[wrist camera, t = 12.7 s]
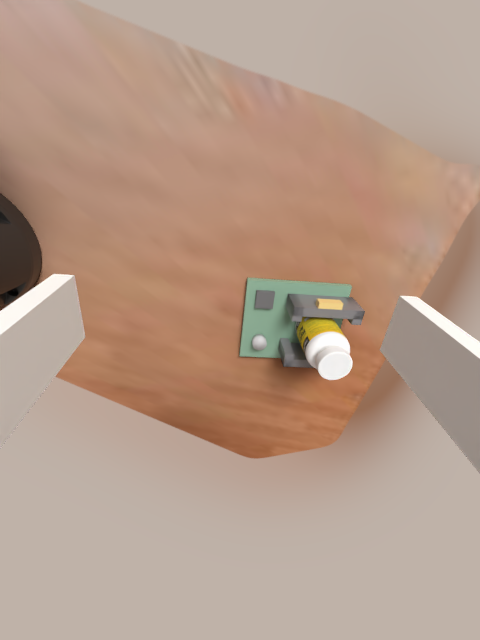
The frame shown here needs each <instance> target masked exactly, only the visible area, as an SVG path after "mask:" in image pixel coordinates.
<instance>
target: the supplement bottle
mask: <svg viewBox="0 0 480 640" xmlns="http://www.w3.org/2000/svg"><path fill="white" fill-rule="evenodd" d="M295 330H296V334H297V336H298V339H299V341H300V344H301V346H302V349H303V351H304V354H305V356H306V359H307V361H308V362H309V364H310V365H311V366H312V367H314V368H316V369H317V370H318V372H319V374H320V375H321V376H322V377H323V378H325V379H328V380H337V379H340V378H342V377H344V376H346V375H347V374H348V373H349V372H350V370H351V368H352V359H351V357H350V355H349V353H350V345H349V343H348V341H347V339H346V337H345V336H344V334H343V333H342V331H341V330H340V328H339V327H338V325H337V324H336V322H335V320H334V319H333V318H322V317H304V316H302V321H301V322H296V325H295Z"/></svg>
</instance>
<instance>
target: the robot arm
mask: <svg viewBox="0 0 480 640" xmlns="http://www.w3.org/2000/svg"><path fill="white" fill-rule="evenodd" d="M40 271H41V251H40V247H39V243H38V240H37V238H36V235H35V233H34V231H33V229H32V227H31V226H30V224H29V223H28V221H27V220H26V218H25V217H24V216H23V214H22V213H21V212H20V211H19V210H18V209H17V208H16V207H15V206H14V205H13V204H12V203H11V202H10V201H9V200H8V199H7V198H5V197H4V196H3V195H2V194H0V307H2V306H5V305H7V304H10V303H11V304H10V305H8V306H7V307H6V308H4V309H3V310H1V311H0V448H1V447H2V446H3V444H4V443H5V442H6V440H7V439H8V438H9V436H10V435H11V434H12V433H13V431H14V430H15V429H16V427H17V426H18V425H19V423H20V422H21V421H22V419H23V418H24V417H25V415H26V414H27V413H28V411H29V410H30V409H31V408H32V406H33V405H34V404H35V402H36V401H37V399H38V398H39V397H40V396H41V394H42V393H43V392H44V390H45V389H46V388H47V386H48V385H49V384H50V383H51V381H52V380H53V379H54V377H55V376H56V375H57V373H58V372H59V371H60V369H61V368H62V367H63V365H64V364H65V363H66V361H67V360H68V359H69V358H70V356H71V355H72V354H73V352H74V351H75V350H76V348H77V347H78V346H79V344H80V343H81V342H82V340H83V339H84V338H85V332H84V327H83V321H82V315H81V309H80V304H79V298H78V292H77V287H76V281H75V275H62V274H53V275H51V276H50V277H49V278H47V279H46V280H44V281H43V282H41V283H40V284H39V285H37V286H36V287H34V288H33V289H31V288H32V287H33V286H34V285H35V283H36V281H37V279H38V277H39V274H40ZM30 289H31V290H30ZM29 290H30V291H29ZM15 300H16V301H15ZM12 302H13V303H12ZM380 351H381V352H382V354H383V355H384V356H385V357H386V359H387V360H388V361H389V362H390V364H391V365H392V366H393V367H394V368H395V370H396V371H397V372H398V373H399V375H400V376H401V377H402V378H403V379H404V381H405V382H406V383H407V384H408V386H409V387H410V388H411V389H412V391H413V392H414V393H415V394H416V395H417V397H418V398H419V399H420V400H421V402H422V403H423V404H424V405H425V407H426V408H427V409H428V410H429V411H430V413H431V414H432V415H433V416H434V417H435V419H436V420H437V421H438V423H439V424H440V425H441V426H442V427H443V429H444V430H445V431H446V432H447V434H448V435H449V436H450V437H451V439H452V440H453V441H454V442H455V443H456V444H457V446H458V447H459V448H460V450H461V451H462V452H463V453H464V455H465V456H466V457H467V458H468V459H469V461H470V462H471V463H472V464H473V466H474V467H475V468H476V469H477V471H478V472H479V473H480V342H479V341H477V340H476V339H474V338H473V337H472V336H470V335H468V333H466V332H465V331H463V330H462V329H461V328H459V327H458V326H456V325H455V324H454V323H452V322H451V321H450V320H448V319H447V318H445V317H444V316H443V315H441V314H440V313H438V312H437V311H436V310H434V309H433V308H431V307H430V306H429V305H427V304H426V303H424V302H423V301H422V300H420V299H419V298H418V297H411V296H399V299H398V302H397V304H396V307H395V310H394V313H393V315H392V318H391V321H390V324H389V326H388V329H387V332H386V335H385V337H384V340H383V343H382V346H381V349H380Z"/></svg>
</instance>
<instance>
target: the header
mask: <svg viewBox="0 0 480 640" xmlns="http://www.w3.org/2000/svg"><path fill="white" fill-rule="evenodd" d="M286 309H287V311H288V313H289V316H290V318H291V321H296V322H301V321H302V316H304V317H322V318H340V319H348V321H349V322H350V323H351V324H352V325H361V322H362V319H363V316H364V312H365V311H364V310H363V309H362V308H361V306H360V305H359V304H358V303H357V302H356V301H355V300H354V299H353V298H352V297H337V296H321V295H305V294H289V293H288V296H287V302H286ZM278 350H279V354H280V357H281V361H282V364H283V366H284V367H308V368H314V367H312V366H311V365H310V364H309V362H308V361H307V359H306V356H305V354H304V351H303V349H302V346H301V344H300V343H290V341H289V339H288V338H280V342H279V347H278Z"/></svg>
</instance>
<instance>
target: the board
mask: <svg viewBox="0 0 480 640" xmlns="http://www.w3.org/2000/svg"><path fill="white" fill-rule="evenodd" d="M351 288H352V286H351V285H350V284H336V283H321V282H306V281H291V280H275V279H260V278H247V286H246V295H245V305H244V314H243V324H242V333H241V343H240V353H239V354H240V356H245V357H269V358H281V357H280V354H279V350H278V347H279V342H280V338H288V339H289V341H290V343H300V341H299V339H298V336H297V334H296V330H295V325H296V321H291V318H290V316H289V313H288V311H287V309H286V302H287V296H288V293H289V294H305V295H321V296H337V297H349V295H350V292H351ZM333 319H334V320H335V322H336V324H337V325H338V327H339V328H341V324H342V320H343V319H340V318H333Z"/></svg>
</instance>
